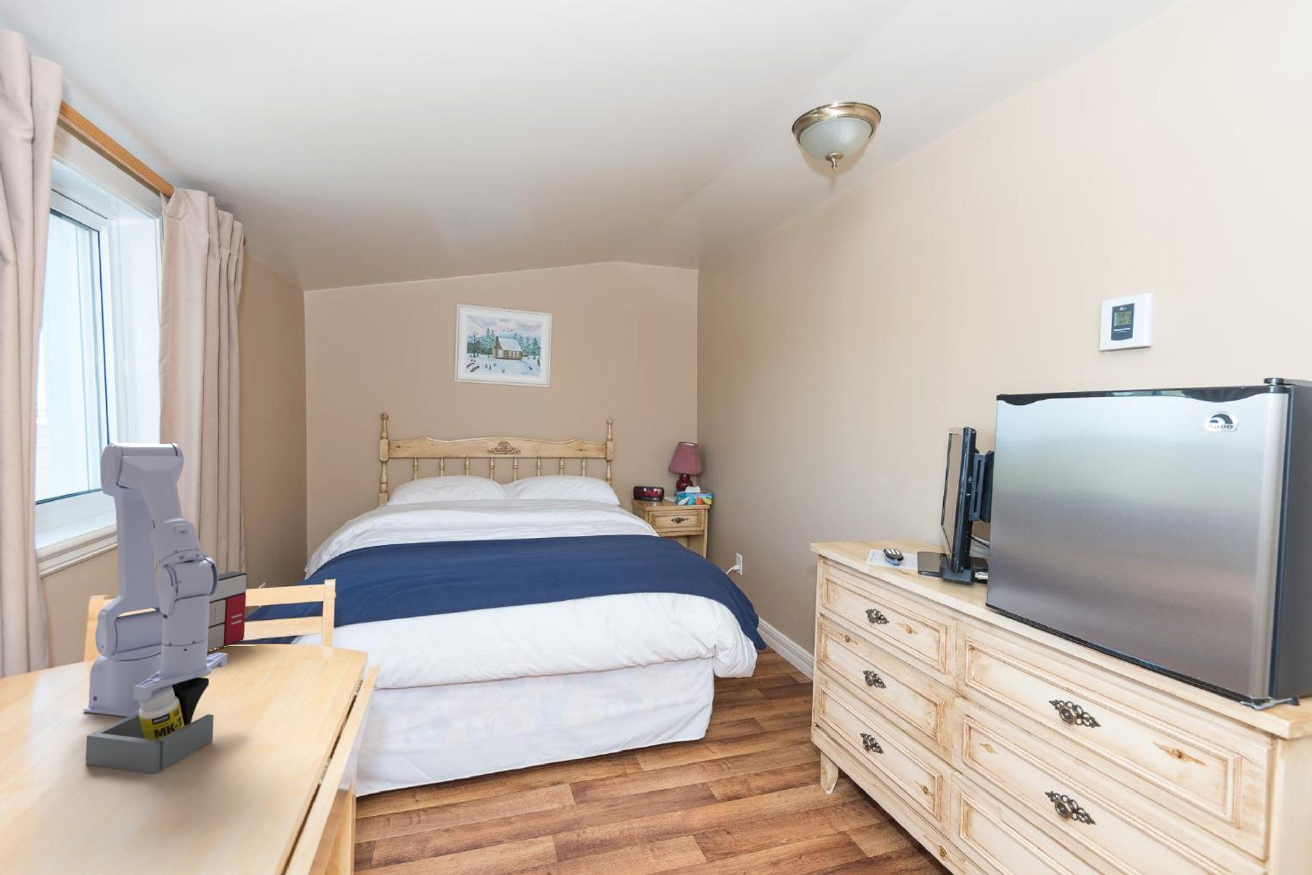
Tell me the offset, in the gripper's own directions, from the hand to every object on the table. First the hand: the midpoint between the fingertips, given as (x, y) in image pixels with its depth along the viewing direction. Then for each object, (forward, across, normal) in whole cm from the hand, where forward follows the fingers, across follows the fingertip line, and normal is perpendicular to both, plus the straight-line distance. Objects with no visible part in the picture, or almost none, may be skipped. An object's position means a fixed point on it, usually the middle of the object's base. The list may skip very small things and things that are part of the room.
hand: (181, 728), depth 98 cm
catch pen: (+1, -5, 0) cm, 5 cm away
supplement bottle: (+1, -2, 0) cm, 3 cm away
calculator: (+2, +36, +26) cm, 44 cm away
